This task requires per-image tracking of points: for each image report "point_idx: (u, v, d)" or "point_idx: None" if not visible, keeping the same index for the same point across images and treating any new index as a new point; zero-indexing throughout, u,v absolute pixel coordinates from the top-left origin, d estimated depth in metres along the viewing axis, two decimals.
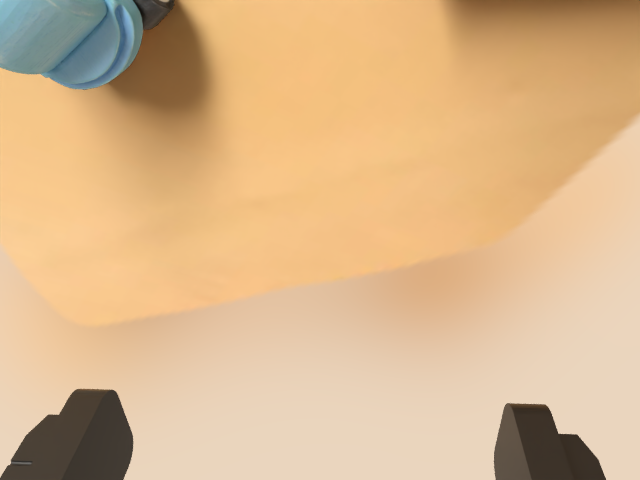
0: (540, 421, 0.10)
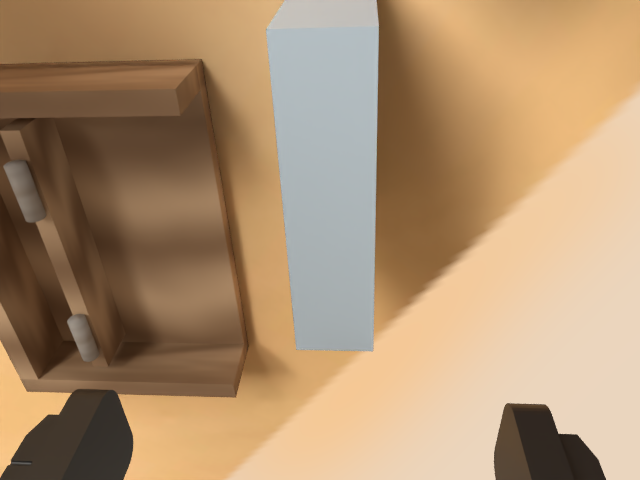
0: (540, 421, 0.10)
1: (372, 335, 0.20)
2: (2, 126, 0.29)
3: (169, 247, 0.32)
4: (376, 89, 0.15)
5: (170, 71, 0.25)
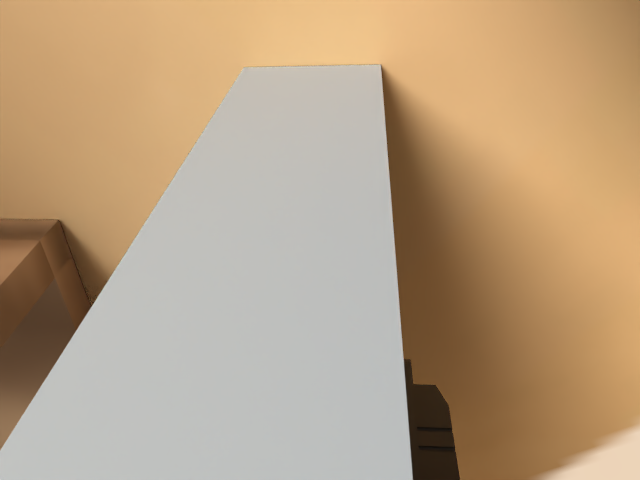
0: None
1: None
2: None
3: None
4: None
5: None
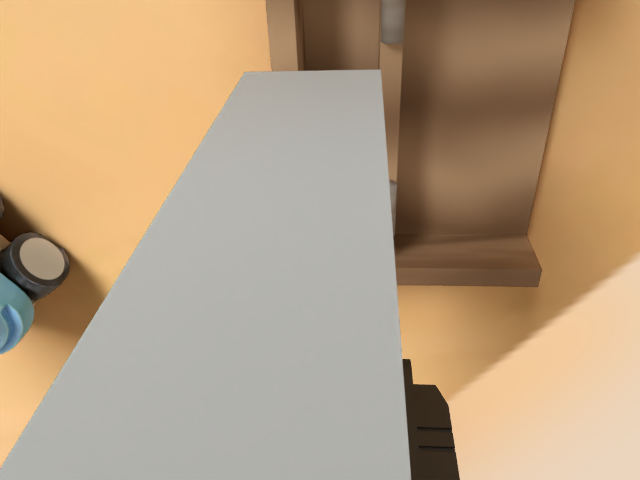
0: None
1: None
2: None
3: (483, 106, 0.28)
4: None
5: None
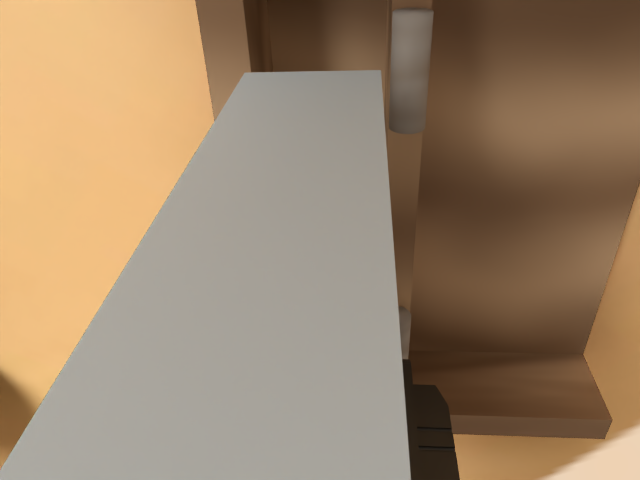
0: None
1: None
2: None
3: (533, 198, 0.20)
4: None
5: None
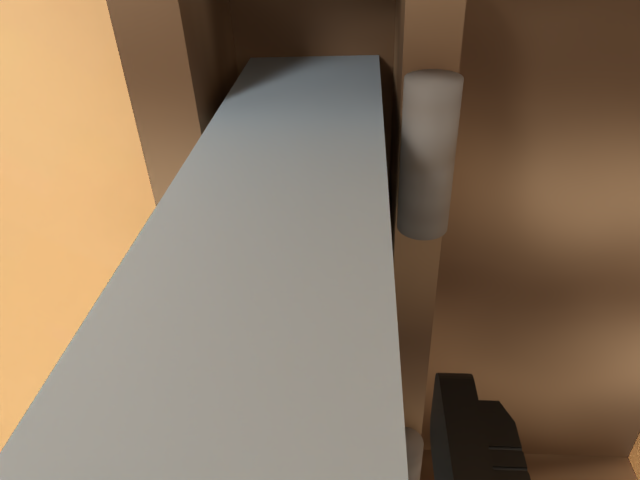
0: (463, 387, 0.10)
1: None
2: (305, 7, 0.12)
3: (577, 286, 0.16)
4: None
5: None
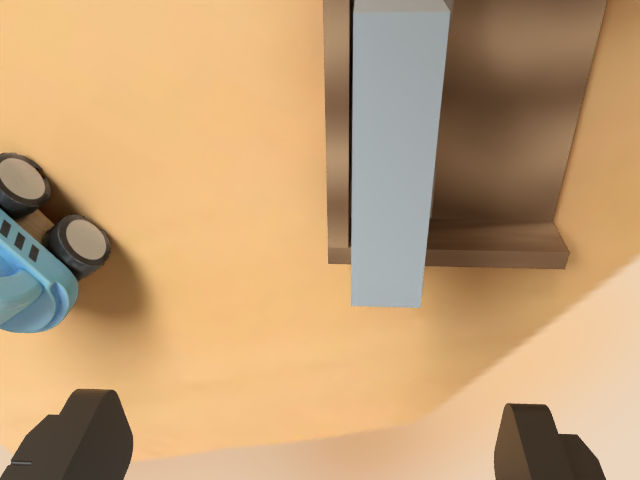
0: (540, 421, 0.10)
1: (421, 292, 0.23)
2: None
3: (517, 96, 0.30)
4: (443, 66, 0.18)
5: None
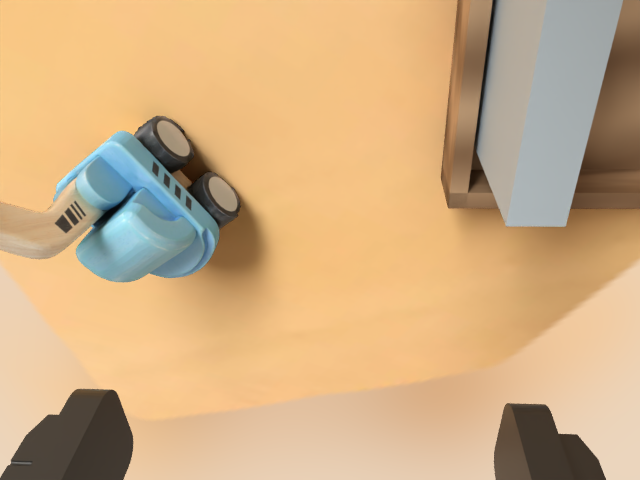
0: (540, 421, 0.10)
1: (568, 212, 0.27)
2: None
3: (621, 55, 0.34)
4: (618, 14, 0.22)
5: None
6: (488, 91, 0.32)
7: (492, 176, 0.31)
